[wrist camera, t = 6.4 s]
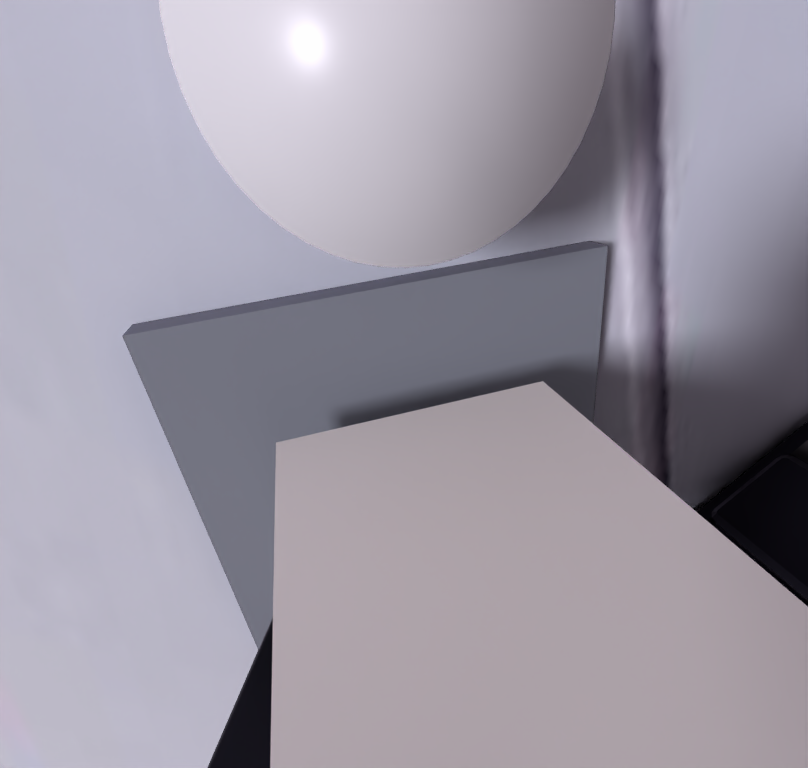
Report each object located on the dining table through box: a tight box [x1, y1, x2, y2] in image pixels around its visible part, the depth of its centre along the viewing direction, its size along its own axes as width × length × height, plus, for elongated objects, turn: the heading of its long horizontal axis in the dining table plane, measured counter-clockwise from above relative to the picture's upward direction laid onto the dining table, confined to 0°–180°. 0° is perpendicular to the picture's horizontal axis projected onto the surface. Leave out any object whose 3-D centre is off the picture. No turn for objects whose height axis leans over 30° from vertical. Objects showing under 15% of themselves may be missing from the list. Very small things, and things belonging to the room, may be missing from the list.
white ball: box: [159, 0, 615, 268], centre depth 6 cm, size 4×4×4 cm
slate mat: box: [123, 241, 608, 650], centre depth 11 cm, size 9×9×1 cm
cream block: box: [270, 381, 808, 768], centre depth 7 cm, size 5×5×6 cm
